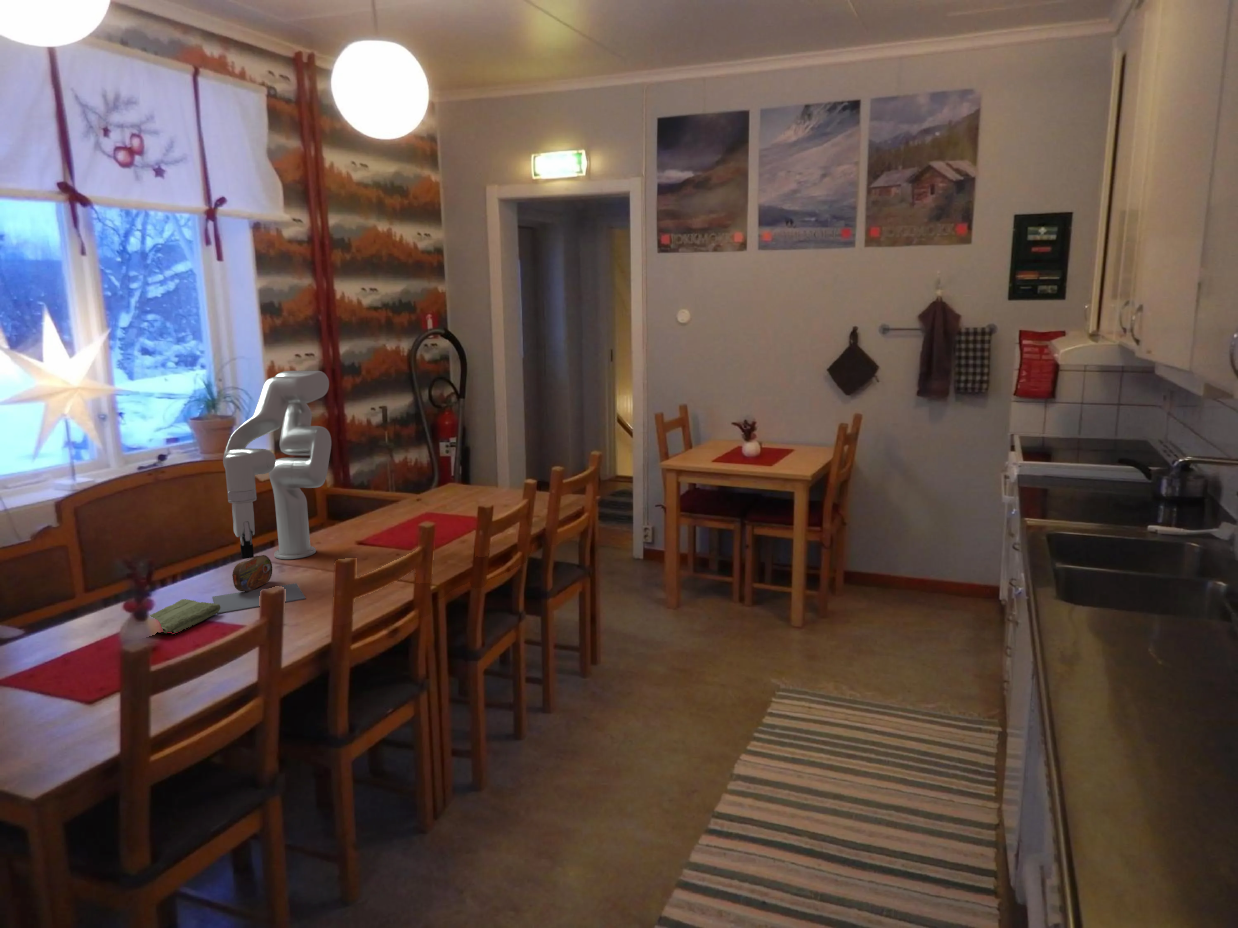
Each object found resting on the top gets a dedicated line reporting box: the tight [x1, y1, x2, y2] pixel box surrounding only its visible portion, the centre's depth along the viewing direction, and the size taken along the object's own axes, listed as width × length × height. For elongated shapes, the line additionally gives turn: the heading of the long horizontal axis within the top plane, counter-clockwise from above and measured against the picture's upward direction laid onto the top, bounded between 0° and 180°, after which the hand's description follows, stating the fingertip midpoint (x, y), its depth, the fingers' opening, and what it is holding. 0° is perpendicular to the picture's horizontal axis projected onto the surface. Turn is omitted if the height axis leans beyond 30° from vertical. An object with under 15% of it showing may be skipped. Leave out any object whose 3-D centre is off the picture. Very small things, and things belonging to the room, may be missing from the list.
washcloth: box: [149, 598, 221, 634], centre depth 214 cm, size 13×18×3 cm
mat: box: [211, 582, 307, 615], centre depth 232 cm, size 15×22×1 cm
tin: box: [231, 554, 273, 592], centre depth 240 cm, size 15×3×8 cm, turn 168°
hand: (247, 557), depth 246 cm, fingers closed
